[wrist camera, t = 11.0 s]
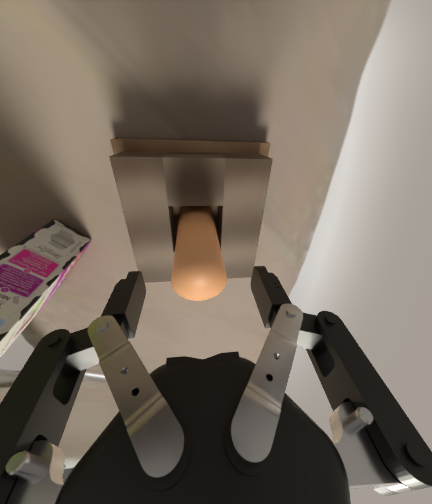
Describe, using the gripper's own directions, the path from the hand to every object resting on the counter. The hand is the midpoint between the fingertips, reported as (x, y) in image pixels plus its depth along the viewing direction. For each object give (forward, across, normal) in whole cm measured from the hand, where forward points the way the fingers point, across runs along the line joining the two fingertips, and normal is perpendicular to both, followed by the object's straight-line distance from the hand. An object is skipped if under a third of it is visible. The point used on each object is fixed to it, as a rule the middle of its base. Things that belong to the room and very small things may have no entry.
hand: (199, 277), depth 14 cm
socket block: (+13, 0, 0) cm, 13 cm away
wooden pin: (+12, 0, 0) cm, 12 cm away
